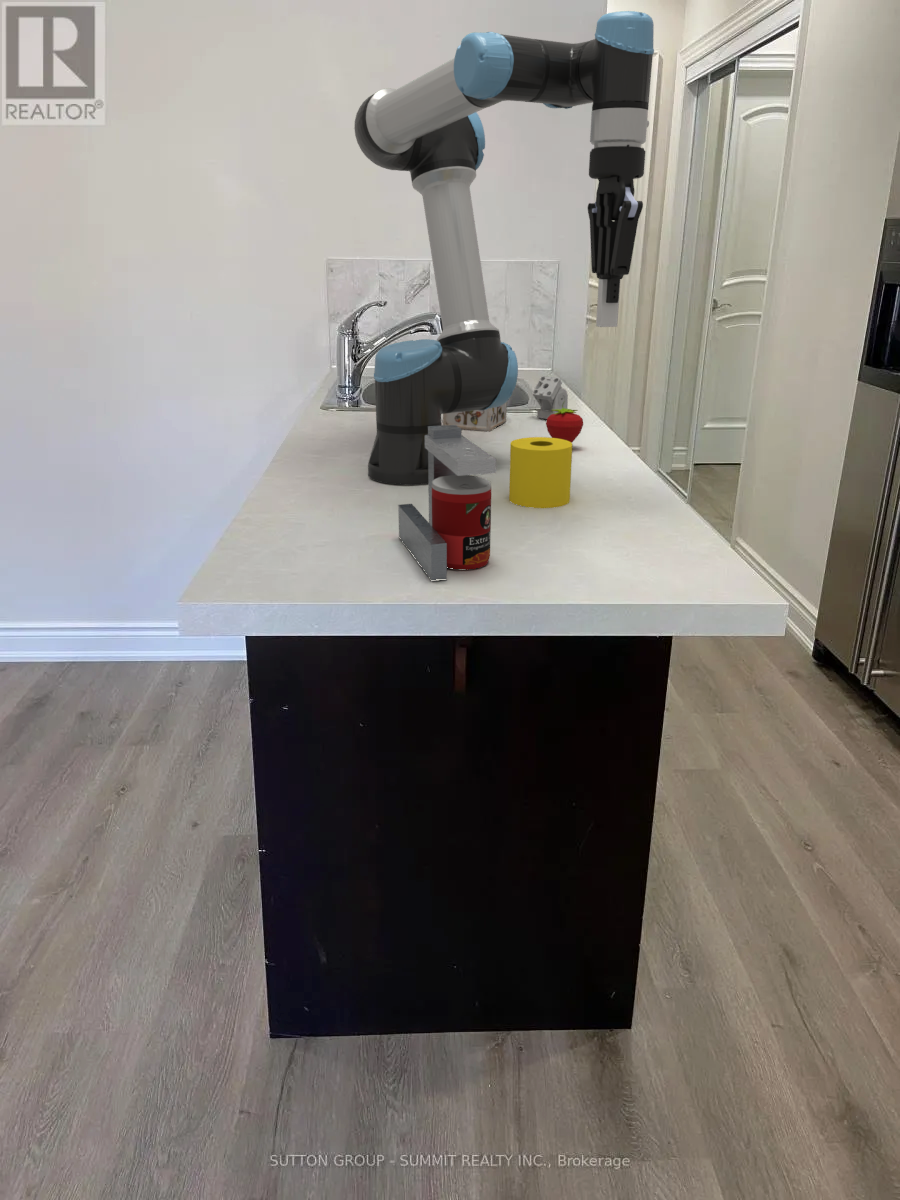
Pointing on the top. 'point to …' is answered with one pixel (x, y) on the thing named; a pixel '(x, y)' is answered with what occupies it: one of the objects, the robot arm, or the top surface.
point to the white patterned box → (477, 418)
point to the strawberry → (564, 424)
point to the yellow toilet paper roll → (540, 472)
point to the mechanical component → (550, 396)
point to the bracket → (444, 459)
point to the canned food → (463, 519)
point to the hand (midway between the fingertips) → (606, 326)
